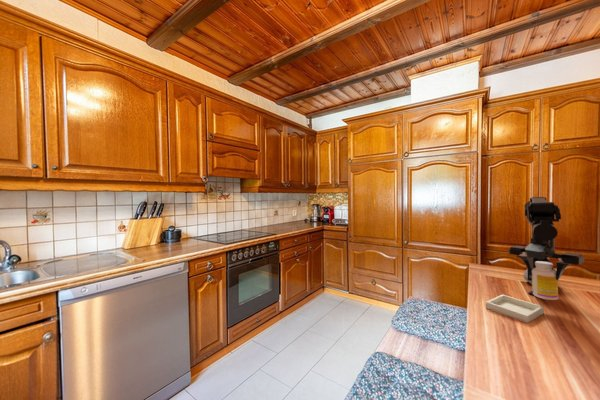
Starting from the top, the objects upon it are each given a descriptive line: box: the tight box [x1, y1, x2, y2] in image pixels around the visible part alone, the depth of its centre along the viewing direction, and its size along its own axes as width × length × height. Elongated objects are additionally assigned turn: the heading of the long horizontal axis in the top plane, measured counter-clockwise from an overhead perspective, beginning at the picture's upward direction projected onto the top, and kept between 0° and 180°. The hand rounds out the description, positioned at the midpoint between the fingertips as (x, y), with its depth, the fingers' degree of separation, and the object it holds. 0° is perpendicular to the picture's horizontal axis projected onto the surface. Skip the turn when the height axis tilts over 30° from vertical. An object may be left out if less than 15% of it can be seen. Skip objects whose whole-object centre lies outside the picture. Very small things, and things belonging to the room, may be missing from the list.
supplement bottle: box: [531, 261, 559, 301], centre depth 87 cm, size 7×7×13 cm
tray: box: [485, 294, 545, 324], centre depth 89 cm, size 13×13×2 cm
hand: (544, 276), depth 87 cm, fingers closed on supplement bottle, 7 cm apart
